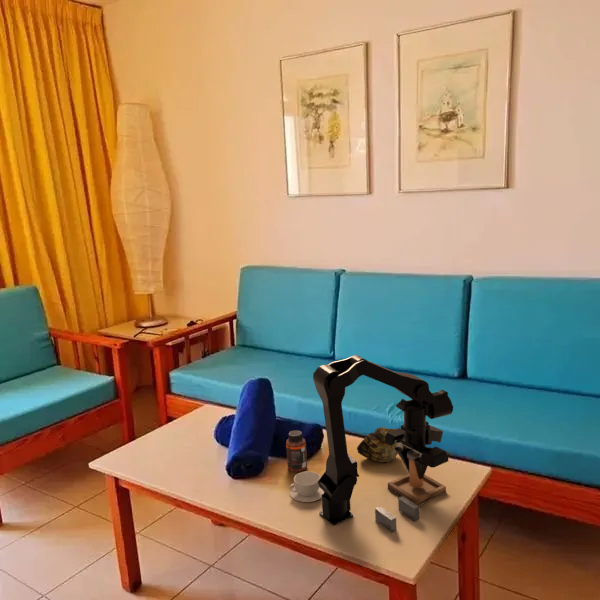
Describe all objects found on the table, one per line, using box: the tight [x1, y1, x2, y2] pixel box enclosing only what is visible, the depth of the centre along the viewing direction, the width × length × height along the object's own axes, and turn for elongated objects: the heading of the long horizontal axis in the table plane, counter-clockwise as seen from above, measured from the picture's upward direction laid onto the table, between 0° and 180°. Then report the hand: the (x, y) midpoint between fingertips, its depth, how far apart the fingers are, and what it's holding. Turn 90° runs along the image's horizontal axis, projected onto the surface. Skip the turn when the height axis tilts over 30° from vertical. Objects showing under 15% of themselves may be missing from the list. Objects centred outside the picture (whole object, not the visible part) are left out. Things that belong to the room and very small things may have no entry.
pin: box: [407, 450, 423, 488], centre depth 151 cm, size 5×5×9 cm
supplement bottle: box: [285, 430, 308, 473], centre depth 167 cm, size 6×6×11 cm
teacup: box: [289, 470, 324, 503], centre depth 154 cm, size 10×10×5 cm
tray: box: [387, 473, 447, 507], centre depth 152 cm, size 11×11×2 cm
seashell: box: [356, 426, 399, 463], centre depth 170 cm, size 11×11×10 cm
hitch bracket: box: [374, 496, 421, 534], centre depth 139 cm, size 9×6×4 cm, turn 122°
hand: (416, 475), depth 151 cm, fingers closed on pin, 3 cm apart
